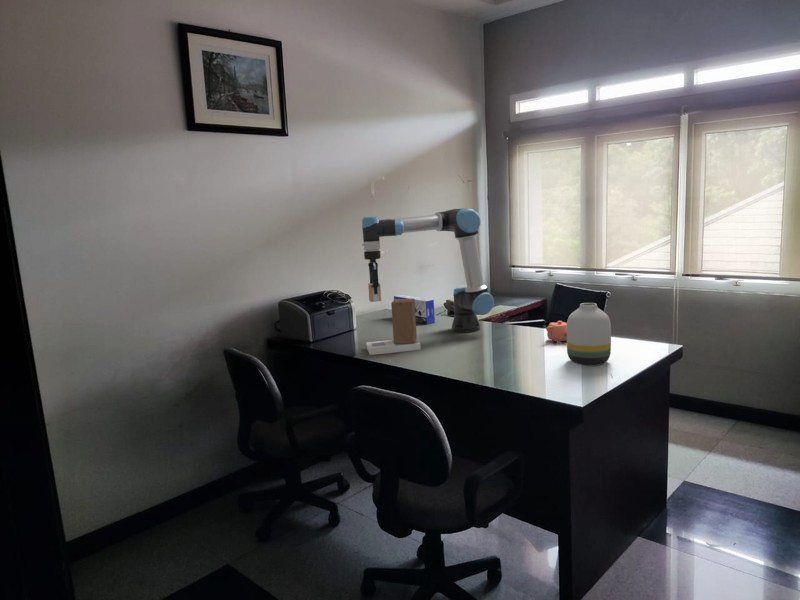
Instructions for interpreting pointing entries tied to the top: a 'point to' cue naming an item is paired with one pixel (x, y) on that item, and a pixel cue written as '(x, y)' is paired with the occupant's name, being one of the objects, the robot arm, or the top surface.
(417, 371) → the top surface
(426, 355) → the top surface
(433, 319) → the ink box
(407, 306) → the wooden block
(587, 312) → the vase
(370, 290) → the terracotta block
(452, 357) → the top surface
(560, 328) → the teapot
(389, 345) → the foundation board
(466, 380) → the top surface
